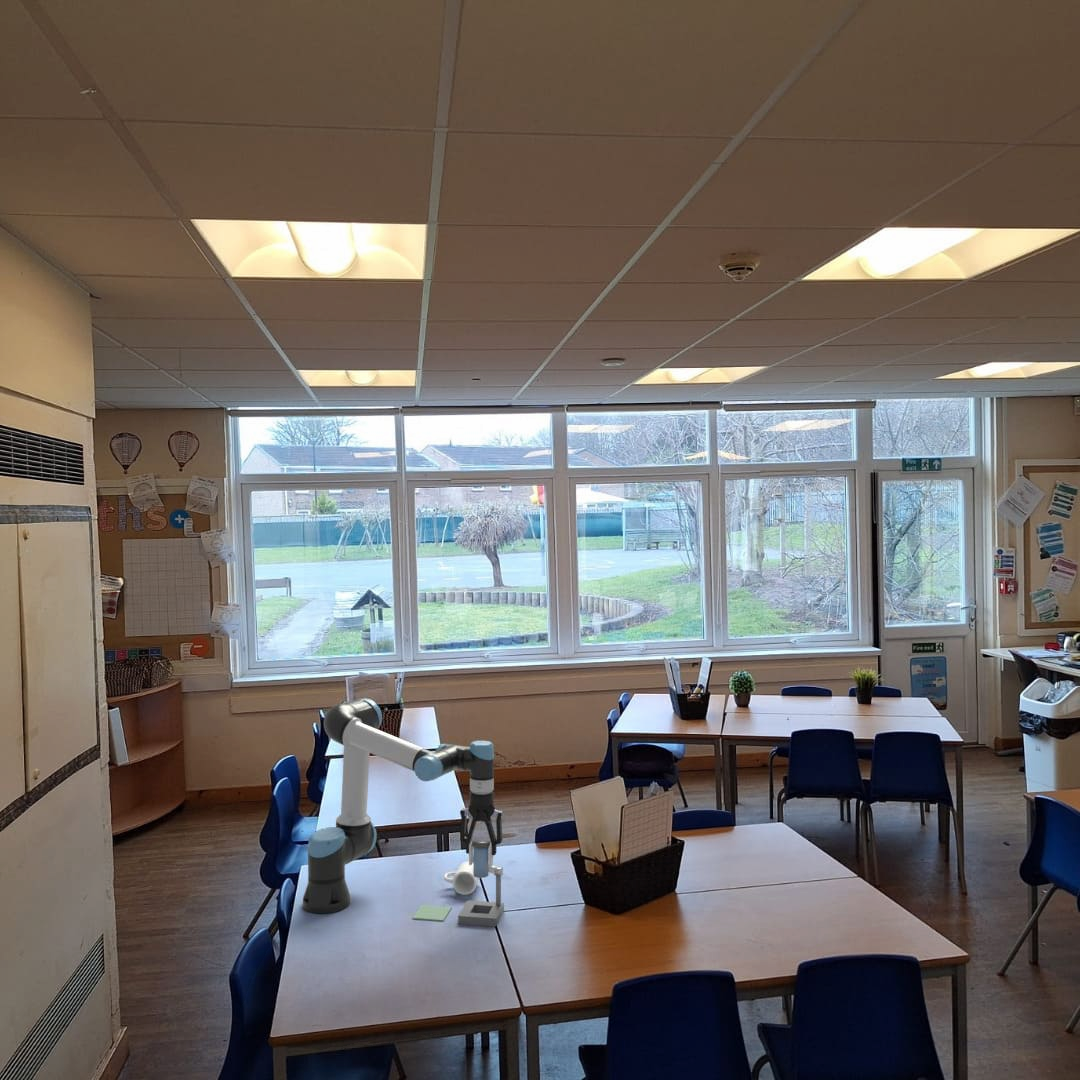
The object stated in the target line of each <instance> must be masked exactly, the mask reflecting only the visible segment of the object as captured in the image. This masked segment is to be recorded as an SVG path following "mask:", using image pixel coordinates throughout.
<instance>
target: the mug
mask: <svg viewBox="0 0 1080 1080" xmlns="http://www.w3.org/2000/svg"><path fill="white" fill-rule="evenodd" d="M450 877H451V878H450ZM452 877H453V878H452ZM480 879H481V878H477V877H474V876H473V863H472V865H469V860H468V861H464V862H462V863H461V864H460V865H459V867H458V868H457V871H449V872H445V874H444V875H443V880H444V881H445V882H446V883H449V884H452V887H453V889H454V890H455V892H456V893H458V894H460V895H462V896H468V895H471V894H472V893H473V892H474V891H475V890H476V887H477V885H478V884H479V880H480Z"/></svg>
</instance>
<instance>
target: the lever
mask: <svg viewBox="0 0 1080 1080" xmlns="http://www.w3.org/2000/svg"><path fill="white" fill-rule="evenodd" d="M489 874H493V875H494V876H495V877H496V876H501V877H502V876H503V875H504V867H503V866H496V865H492V866H491V867H489Z"/></svg>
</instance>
